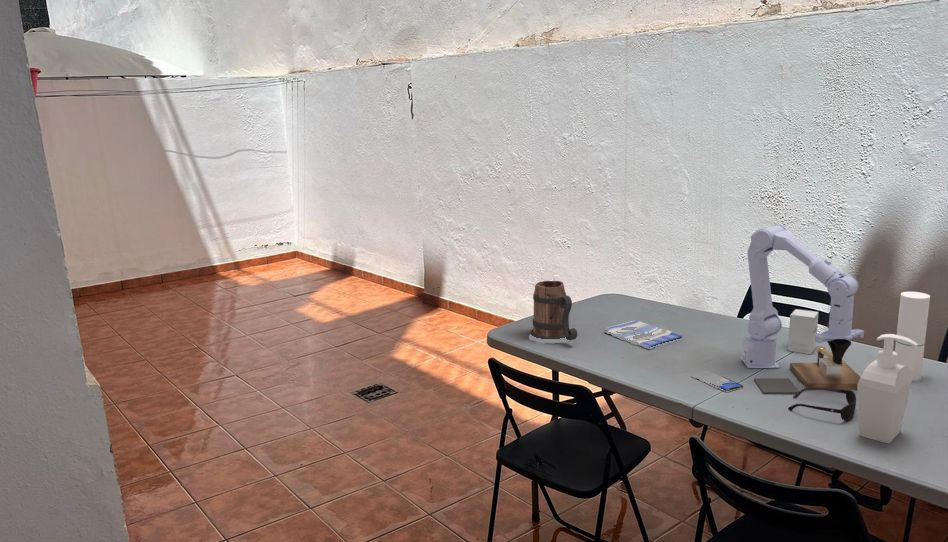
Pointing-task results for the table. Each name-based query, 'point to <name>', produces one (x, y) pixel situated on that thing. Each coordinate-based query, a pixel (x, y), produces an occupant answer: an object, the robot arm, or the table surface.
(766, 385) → the rubber mat
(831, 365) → the grey block
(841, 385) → the wooden base
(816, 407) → the sunglasses
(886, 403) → the soap bottle
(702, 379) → the table surface
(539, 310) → the tankard
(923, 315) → the cylindrical container
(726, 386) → the smartphone
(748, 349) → the robot arm
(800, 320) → the supplement box
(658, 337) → the dish towel
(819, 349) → the lever
